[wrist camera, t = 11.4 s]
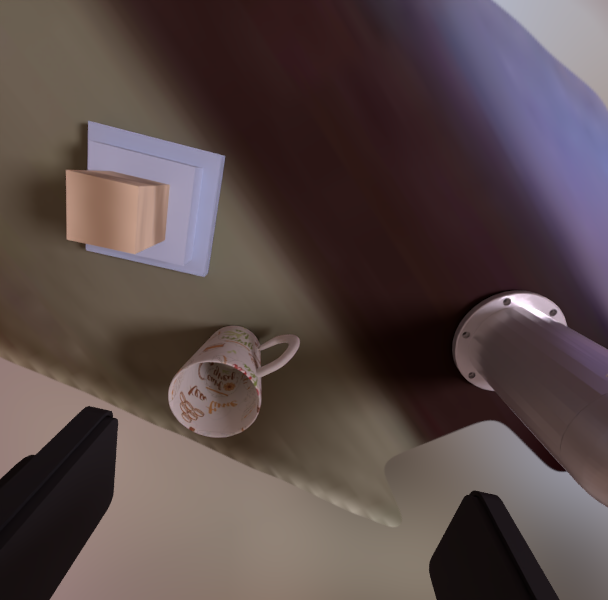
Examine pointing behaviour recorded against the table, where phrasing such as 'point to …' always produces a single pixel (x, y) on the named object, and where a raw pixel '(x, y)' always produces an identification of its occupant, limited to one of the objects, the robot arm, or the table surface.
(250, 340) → the mug
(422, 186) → the table surface
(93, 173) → the beech block
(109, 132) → the plinth
